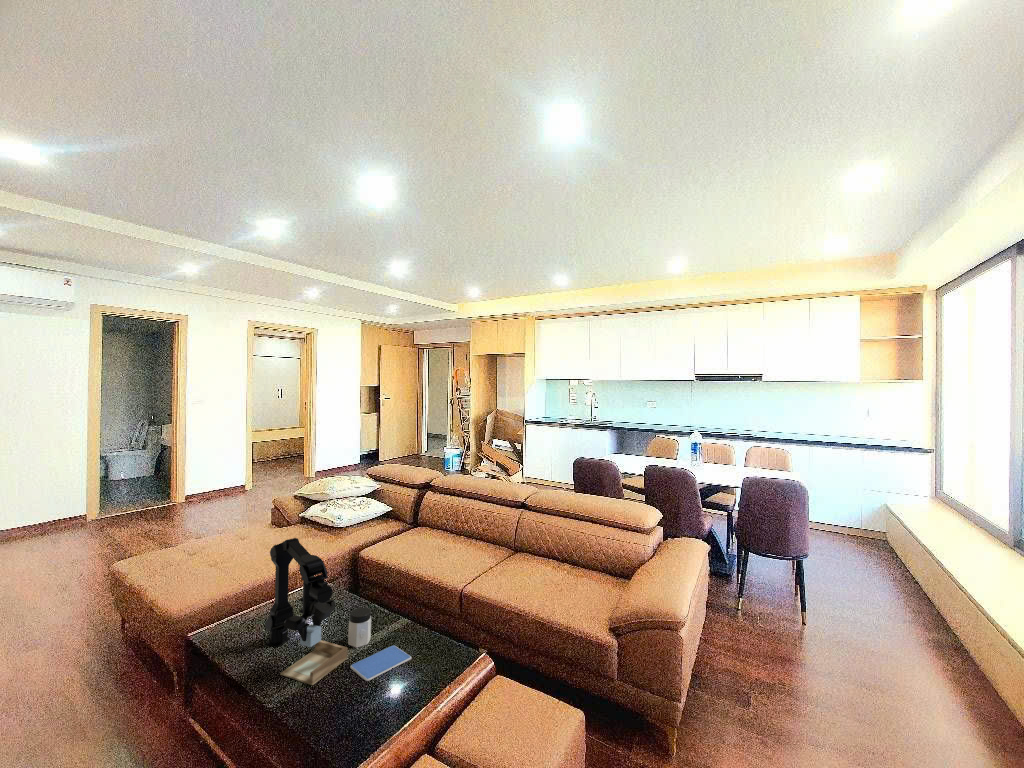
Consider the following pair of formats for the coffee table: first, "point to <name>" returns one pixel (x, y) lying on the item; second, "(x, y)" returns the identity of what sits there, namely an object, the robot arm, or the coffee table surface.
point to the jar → (359, 627)
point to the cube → (312, 636)
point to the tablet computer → (380, 662)
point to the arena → (317, 663)
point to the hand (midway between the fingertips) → (310, 637)
